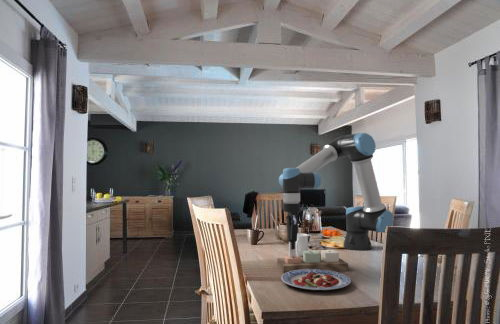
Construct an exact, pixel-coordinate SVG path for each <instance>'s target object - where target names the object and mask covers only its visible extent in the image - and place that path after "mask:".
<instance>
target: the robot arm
mask: <svg viewBox="0 0 500 324" xmlns="http://www.w3.org/2000/svg"><path fill="white" fill-rule="evenodd" d="M376 146H377V145H376V141H375V139H374V138H373V136H371V135H370V134H369V133H366V132H363V133H361V132H358V133H352V134H346V135H345V134H344V135H341V136H339V137H336V138H335V139H333V140H331V141H330V142H329V143H326V145H323V147H322V149H321V150H320V151H319V152H317V153H316V154H314V155H313V156H311V157H310V158H309V159H307V160H305V161H304V162H301V164H299V165H298V166H297V167H287V168H283V169H282V170H283V171H282V173H281V174H280V175H279V177H278V183H279V185H280V187H281V188H282V193H283V194H282V195H281V197H282V199H283V201H282V202H283V204H282V210H283V212H284V213H287V215H286V217H285V220H286V229H287V230H286V231H287V240H288V256H290V257H296V241H297V234H298V224H299V220H298V215H297V213H299V212H301V203H300V202H301V190H309V189H311V190H314V189H318V188H319V187H320V186H321V184H322V178H321V176H320V174H319V173H318V172H317V171H319V170H321V169H322V168H323V167H325V166H326V165H327V164H329V163H330V162H335V161H336V160H339V159H341V158H348V159H349V160H350V163H352V164H353V165H354V169H355V173H356V177H357V180H358V184H359V188H360V192H361V196H362V198H363V203H364V206H362V205H361V206H351V207H347V208H346V209H345V224H346V225H345V226H346V232H345V237H344V240H343V248H344V249H348V250H352V251H353V250H354V251H366V250H371V249H372V247H373V246H372V242H371V239H370V237H369V232H370V231H371V232H373V233H374V232H375V233H384V234H385V233H386V232H385V229H386V226H392V227H393V225H394V215H393V213H392V212H391V210H387V206H386V204H384V203H383V202H382V198H381V196H380V195H381V194H380V191H379V187H378V183H377V179H376V175H375V171H374V166H373V163H372V159H373V158H374V153H375V151H376Z"/></svg>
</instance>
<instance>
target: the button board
mask: <svg viewBox="0 0 500 324" xmlns="http://www.w3.org/2000/svg"><path fill="white" fill-rule="evenodd" d="M299 257H300V258H301V263H291V264H287V263H286V262H285V257H277V260H276V261H277V266H278V268H279V267H280V268H279V269H280V270H281V272H282V273H283V274H285V273H287V272H290V271H294V270H301V269H321V270H330V271H335V272H345V271H349V263H348V262H347V261H345V260H344V259H341V257H339V262H324V261H323V260H321V256H320V262H316V263H306V262H304V261H303V256H299Z"/></svg>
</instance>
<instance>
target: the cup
mask: <svg viewBox="0 0 500 324" xmlns="http://www.w3.org/2000/svg"><path fill="white" fill-rule="evenodd" d="M303 251H309V235H308V234H307V233H297V241H296V255H298V256H299V257H303Z"/></svg>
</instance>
